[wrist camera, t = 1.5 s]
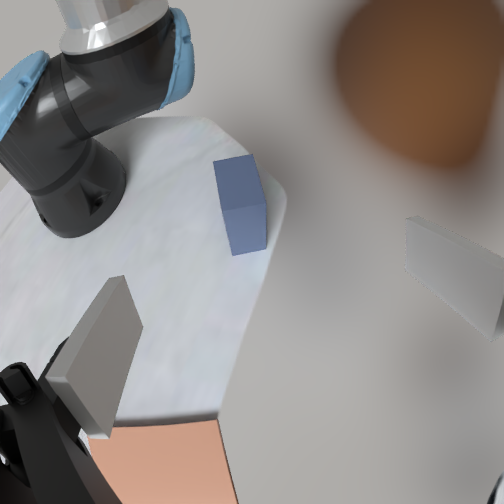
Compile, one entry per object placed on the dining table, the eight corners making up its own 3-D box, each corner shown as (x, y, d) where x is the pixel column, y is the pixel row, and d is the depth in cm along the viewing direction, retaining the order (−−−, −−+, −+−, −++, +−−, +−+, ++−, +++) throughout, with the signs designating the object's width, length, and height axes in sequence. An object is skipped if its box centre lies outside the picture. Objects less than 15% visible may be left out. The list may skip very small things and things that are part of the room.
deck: (224, 213, 38) (212, 161, 29) (255, 206, 39) (253, 154, 29) (232, 256, 36) (221, 211, 27) (266, 249, 36) (266, 202, 27)
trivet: (89, 426, 28) (85, 427, 27) (217, 418, 29) (216, 420, 28) (117, 524, 22) (113, 527, 21) (244, 525, 23) (244, 529, 22)
